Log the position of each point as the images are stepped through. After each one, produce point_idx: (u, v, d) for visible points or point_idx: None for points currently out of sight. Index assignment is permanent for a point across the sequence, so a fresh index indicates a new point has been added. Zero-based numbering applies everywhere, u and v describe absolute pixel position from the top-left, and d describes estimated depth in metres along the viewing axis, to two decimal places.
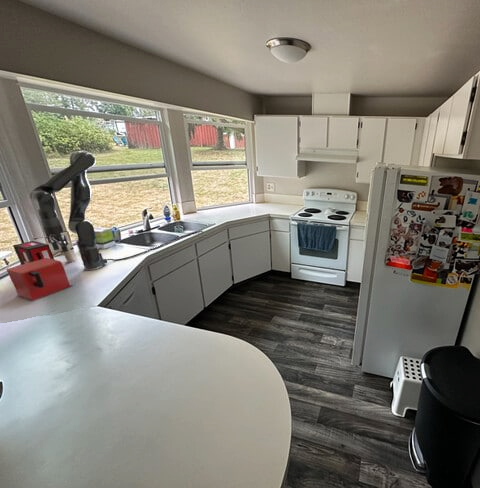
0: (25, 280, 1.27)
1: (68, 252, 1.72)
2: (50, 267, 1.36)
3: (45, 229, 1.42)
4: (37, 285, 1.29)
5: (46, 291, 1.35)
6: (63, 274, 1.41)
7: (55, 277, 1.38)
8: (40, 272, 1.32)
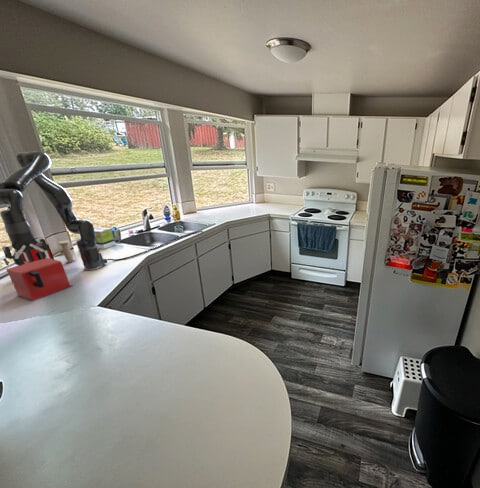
0: (25, 280, 1.27)
1: (68, 252, 1.72)
2: (50, 267, 1.36)
3: None
4: (37, 285, 1.29)
5: (46, 291, 1.35)
6: (63, 274, 1.41)
7: (55, 277, 1.38)
8: (40, 272, 1.32)
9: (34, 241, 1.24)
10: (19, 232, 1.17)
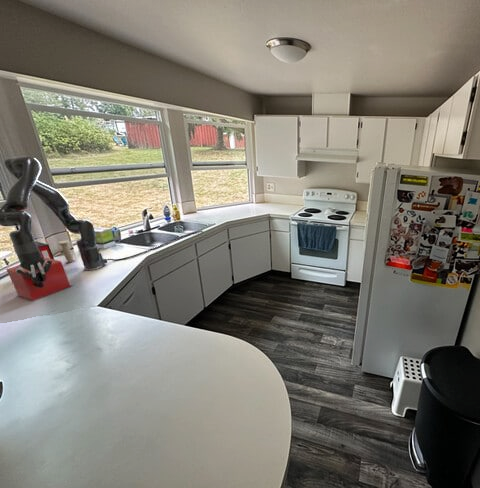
0: (25, 280, 1.27)
1: (68, 252, 1.72)
2: (50, 267, 1.36)
3: None
4: (37, 285, 1.29)
5: (46, 291, 1.35)
6: (63, 274, 1.41)
7: (55, 277, 1.38)
8: None
9: (42, 260, 1.28)
10: (27, 252, 1.21)
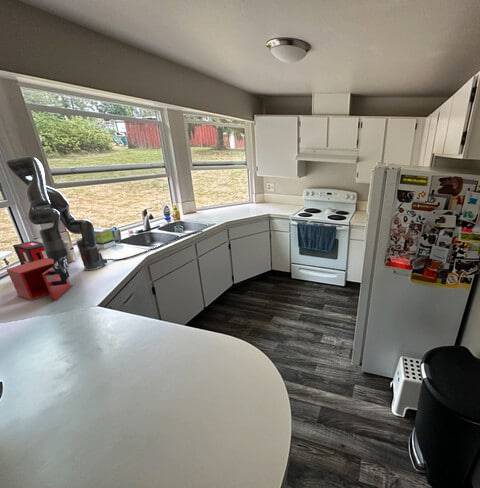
0: (47, 280, 1.28)
1: (68, 252, 1.72)
2: None
3: None
4: (60, 283, 1.32)
5: (60, 291, 1.36)
6: None
7: None
8: None
9: (64, 256, 1.33)
10: (63, 247, 1.28)
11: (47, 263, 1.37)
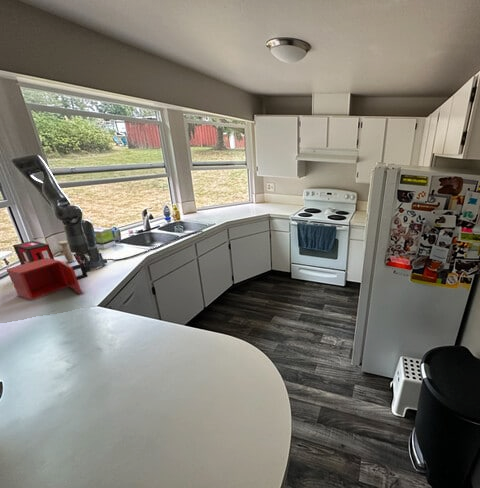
0: None
1: (68, 252, 1.72)
2: None
3: (71, 247, 1.32)
4: (83, 276, 1.39)
5: None
6: None
7: None
8: None
9: None
10: (87, 240, 1.38)
11: (47, 263, 1.37)
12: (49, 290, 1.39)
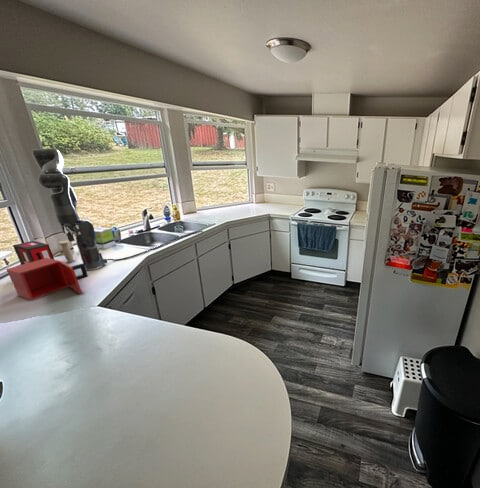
0: None
1: (68, 252, 1.72)
2: None
3: (58, 217, 1.27)
4: (83, 276, 1.39)
5: None
6: None
7: None
8: None
9: None
10: (75, 211, 1.32)
11: (47, 263, 1.37)
12: (49, 290, 1.39)
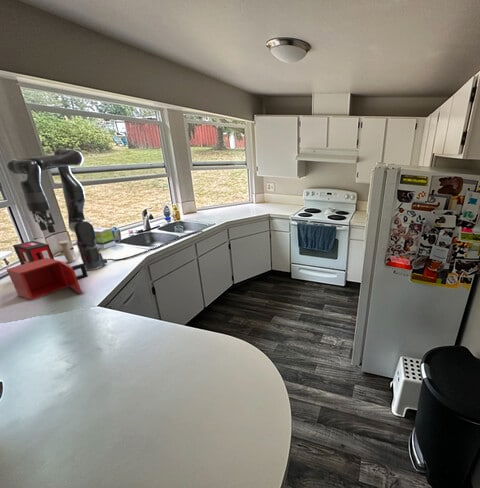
0: None
1: (68, 252, 1.72)
2: None
3: (28, 205, 1.24)
4: (83, 276, 1.39)
5: None
6: None
7: None
8: None
9: None
10: None
11: (47, 263, 1.37)
12: (49, 290, 1.39)
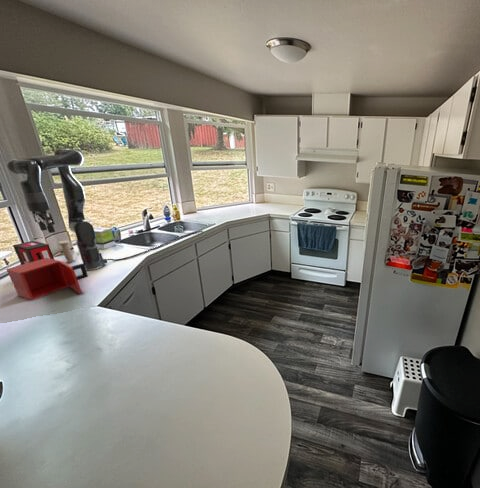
0: None
1: (68, 252, 1.72)
2: None
3: (28, 205, 1.24)
4: (83, 276, 1.39)
5: None
6: None
7: None
8: None
9: None
10: None
11: (47, 263, 1.37)
12: (49, 290, 1.39)
